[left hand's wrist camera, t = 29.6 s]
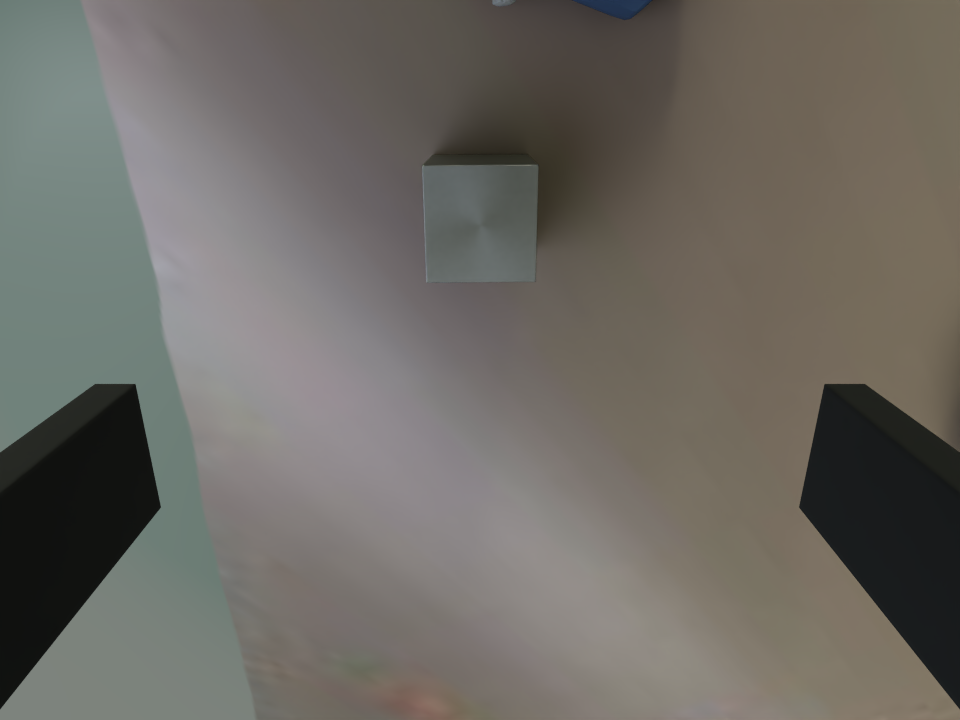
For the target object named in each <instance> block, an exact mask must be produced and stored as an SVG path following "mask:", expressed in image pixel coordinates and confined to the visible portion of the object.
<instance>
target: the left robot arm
mask: <svg viewBox="0 0 960 720" xmlns="http://www.w3.org/2000/svg"><path fill="white" fill-rule="evenodd" d="M160 508H161V506H160V501H159V496H158V491H157V486H156V481H155V477H154V472H153V467H152V462H151V457H150V452H149V448H148V443H147V438H146V433H145V428H144V423H143V419H142V414H141V409H140V404H139V399H138V394H137V390H136V385H135V384H95V385H93V386H92V387H90V388H89V389H88V390H86V391H85V392H84V393H82V394H81V395H79V396H78V397H77V398H75V399H74V400H72V401H71V402H70V403H68V404H67V405H66V406H64V407H63V408H61V409H60V410H59V411H57V412H56V413H54V414H53V415H52V416H50V417H49V418H48V419H46V420H45V421H43V422H42V423H41V424H39V425H38V426H36V427H35V428H34V429H32V430H31V431H29V432H28V433H27V434H25V435H24V436H23V437H21V438H20V439H19V440H17V441H16V442H14V443H13V444H11V445H10V446H9V447H7V448H6V449H5V450H3V451H2V452H0V709H1V708H2V706H3V705H4V704H5V702H6V701H7V700H8V699H9V697H10V696H11V695H12V694H13V692H14V691H15V690H16V689H17V687H18V686H19V685H20V684H21V682H22V681H23V680H24V679H25V677H26V676H27V675H28V674H29V672H30V671H31V670H32V669H33V667H34V666H35V665H36V664H37V662H38V661H39V660H40V659H41V657H42V656H43V655H44V653H45V652H46V651H47V650H48V648H49V647H50V646H51V645H52V643H53V642H54V641H55V640H56V638H57V637H58V636H59V635H60V633H61V632H62V631H63V630H64V628H65V627H66V626H67V625H68V623H69V622H70V621H71V620H72V618H73V617H74V616H75V615H76V613H77V612H78V611H79V610H80V608H81V607H82V606H83V605H84V603H85V602H86V601H87V599H88V598H89V597H90V596H91V594H92V593H93V592H94V591H95V589H96V588H97V587H98V586H99V584H100V583H101V582H102V581H103V579H104V578H105V577H106V576H107V574H108V573H109V572H110V571H111V569H112V568H113V567H114V566H115V564H116V563H117V562H118V561H119V559H120V558H121V557H122V555H123V554H124V553H125V552H126V550H127V549H128V548H129V547H130V545H131V544H132V543H133V542H134V540H135V539H136V538H137V537H138V535H139V534H140V533H141V532H142V530H143V529H144V528H145V527H146V525H147V524H148V523H149V522H150V520H151V519H152V518H153V517H154V515H155V514H156V513H157V511H158V510H159V509H160ZM799 508H800V509H801V510H802V512H803V513H804V514H805V515H806V517H807V518H808V519H809V520H810V522H811V523H812V524H813V525H814V527H815V528H816V529H817V530H818V532H819V533H820V534H821V535H822V537H823V538H824V539H825V540H826V542H827V543H828V544H829V545H830V547H831V548H832V549H833V551H834V552H835V553H836V554H837V556H838V557H839V558H840V559H841V561H842V562H843V563H844V564H845V566H846V567H847V568H848V569H849V571H850V572H851V573H852V574H853V576H854V577H855V578H856V579H857V581H858V582H859V583H860V584H861V586H862V587H863V588H864V589H865V591H866V592H867V593H868V594H869V596H870V597H871V598H872V600H873V601H874V602H875V603H876V605H877V606H878V607H879V608H880V610H881V611H882V612H883V613H884V615H885V616H886V617H887V618H888V620H889V621H890V622H891V623H892V625H893V626H894V627H895V628H896V630H897V631H898V632H899V633H900V635H901V636H902V637H903V638H904V640H905V641H906V642H907V643H908V645H909V646H910V647H911V649H912V650H913V651H914V652H915V654H916V655H917V656H918V657H919V659H920V660H921V661H922V662H923V664H924V665H925V666H926V667H927V669H928V670H929V671H930V672H931V674H932V675H933V676H934V677H935V679H936V680H937V681H938V682H939V684H940V685H941V686H942V687H943V689H944V690H945V691H946V692H947V694H948V695H949V696H950V698H951V699H952V700H953V701H954V703H955V704H956V705H957V706H958V708H959V709H960V452H958V451H957V450H955V449H954V448H953V447H951V446H950V445H949V444H947V443H946V442H944V441H943V440H942V439H940V438H939V437H937V436H936V435H935V434H933V433H932V432H931V431H929V430H928V429H926V428H925V427H924V426H922V425H921V424H919V423H918V422H917V421H915V420H914V419H912V418H911V417H910V416H908V415H907V414H906V413H904V412H903V411H901V410H900V409H899V408H897V407H896V406H894V405H893V404H892V403H890V402H889V401H888V400H886V399H885V398H883V397H882V396H881V395H879V394H878V393H876V392H875V391H874V390H872V389H871V388H870V387H868V386H867V385H865V384H825V385H824V389H823V394H822V399H821V404H820V409H819V414H818V419H817V423H816V428H815V433H814V438H813V443H812V448H811V452H810V457H809V462H808V467H807V472H806V477H805V481H804V486H803V491H802V496H801V501H800V506H799Z"/></svg>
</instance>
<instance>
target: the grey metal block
mask: <svg viewBox="0 0 960 720" xmlns="http://www.w3.org/2000/svg"><path fill="white" fill-rule="evenodd" d="M538 166H539V165H538V164H537V163H536V162H535V161H534V160H533V159H532V158H531V157H530V156H529V155H528V154H484V155H432V156H431V157H430V158H429V159H428V160H427V161H426V162H425V163H424V164H423V165H422V181H423V208H424V235H425V261H426V282H427V283H456V282H536V249H537V207H538Z"/></svg>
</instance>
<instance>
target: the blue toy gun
mask: <svg viewBox="0 0 960 720" xmlns="http://www.w3.org/2000/svg"><path fill="white" fill-rule="evenodd" d="M515 1H516V0H492V3H493V5H495V6H507V5H511V4H512V3H514V2H515ZM573 1H575V2H578V3H580V4H583V5H585V6H588V7H590V8H593V9H595V10H598V11H601V12H603V13H606V14H608V15H611V16H614V17H617V18H620V19H623V20H627V19H631V18H632V17H633V16H635V15H636V14H637V13H638V12H640V11H641V10H642V9H643V8H644V7H645V6H646V5H648V4H649V3H650V2H651V1H652V0H573Z"/></svg>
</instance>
